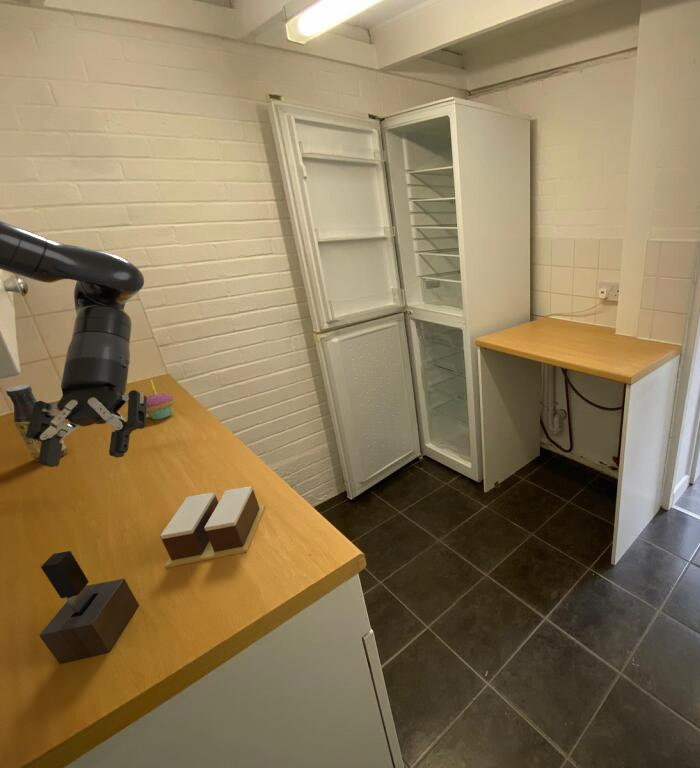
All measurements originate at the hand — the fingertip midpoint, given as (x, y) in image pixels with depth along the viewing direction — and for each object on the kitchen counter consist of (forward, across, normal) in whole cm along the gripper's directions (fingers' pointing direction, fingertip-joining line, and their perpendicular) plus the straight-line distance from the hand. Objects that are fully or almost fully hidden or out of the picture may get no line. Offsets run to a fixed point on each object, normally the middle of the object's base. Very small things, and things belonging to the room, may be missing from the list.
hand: (83, 460), depth 64 cm
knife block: (+25, 0, +8) cm, 26 cm away
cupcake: (-33, -27, +66) cm, 79 cm away
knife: (+25, 0, +8) cm, 26 cm away
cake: (+12, +10, +21) cm, 26 cm away
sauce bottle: (-20, -44, +53) cm, 72 cm away
